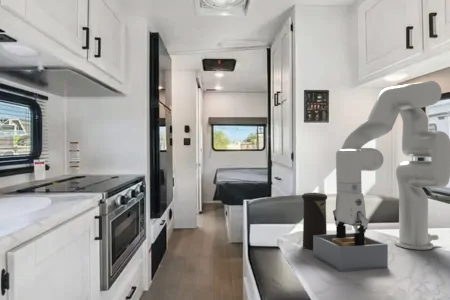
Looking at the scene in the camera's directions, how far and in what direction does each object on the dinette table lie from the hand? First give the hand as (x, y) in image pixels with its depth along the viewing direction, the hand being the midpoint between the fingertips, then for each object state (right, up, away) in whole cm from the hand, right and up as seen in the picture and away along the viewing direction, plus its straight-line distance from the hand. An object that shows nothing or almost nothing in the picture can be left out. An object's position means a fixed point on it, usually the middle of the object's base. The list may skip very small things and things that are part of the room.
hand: (350, 241), depth 112 cm
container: (-7, -7, +16) cm, 19 cm away
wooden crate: (-1, -6, 0) cm, 6 cm away
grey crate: (-1, -6, -1) cm, 6 cm away
